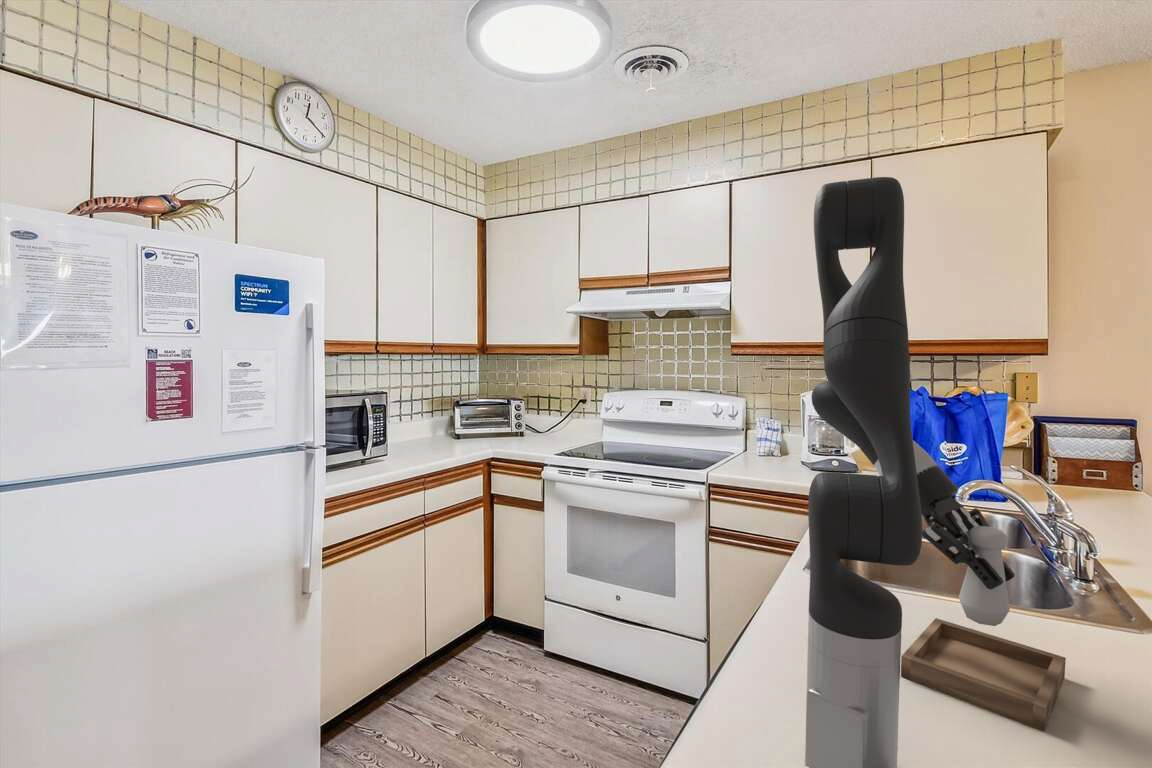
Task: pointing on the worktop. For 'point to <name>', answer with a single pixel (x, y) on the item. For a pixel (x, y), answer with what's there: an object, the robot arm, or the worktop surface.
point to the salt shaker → (974, 594)
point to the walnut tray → (986, 671)
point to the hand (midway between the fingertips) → (1002, 582)
